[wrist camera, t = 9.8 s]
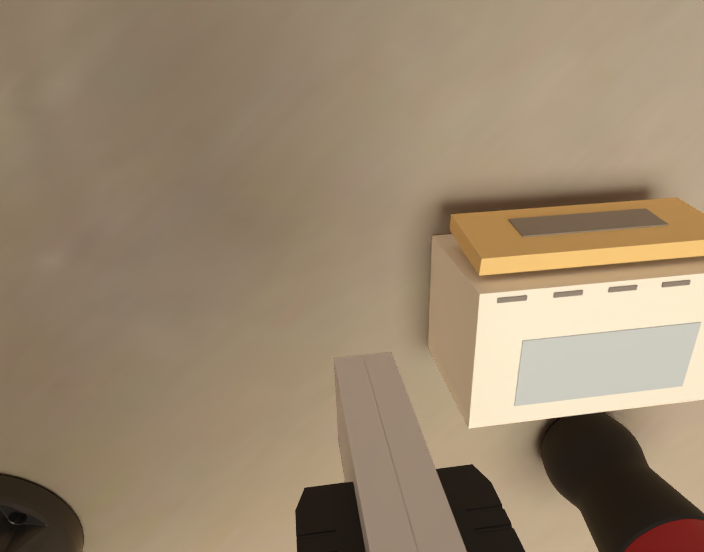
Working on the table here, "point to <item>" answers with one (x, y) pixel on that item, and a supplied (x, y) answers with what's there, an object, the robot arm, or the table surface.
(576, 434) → the cola bottle
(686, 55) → the table surface
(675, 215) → the tan flat board
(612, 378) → the cream box
